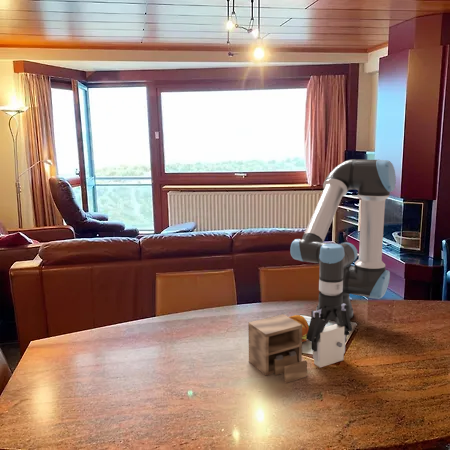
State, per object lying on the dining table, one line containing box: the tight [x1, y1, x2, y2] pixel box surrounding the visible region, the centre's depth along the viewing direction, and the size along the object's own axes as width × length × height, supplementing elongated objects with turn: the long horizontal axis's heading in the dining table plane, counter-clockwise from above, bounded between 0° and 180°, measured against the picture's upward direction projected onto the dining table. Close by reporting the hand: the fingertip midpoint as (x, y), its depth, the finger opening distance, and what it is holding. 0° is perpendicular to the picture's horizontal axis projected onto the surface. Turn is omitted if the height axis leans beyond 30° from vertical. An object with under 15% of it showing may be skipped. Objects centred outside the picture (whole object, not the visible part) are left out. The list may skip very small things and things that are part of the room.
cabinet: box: [248, 313, 308, 384], centre depth 144 cm, size 17×14×14 cm
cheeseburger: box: [288, 314, 310, 343], centre depth 164 cm, size 10×11×10 cm
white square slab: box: [313, 323, 345, 368], centre depth 146 cm, size 4×10×12 cm, turn 118°
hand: (328, 355), depth 148 cm, fingers closed on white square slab, 10 cm apart
